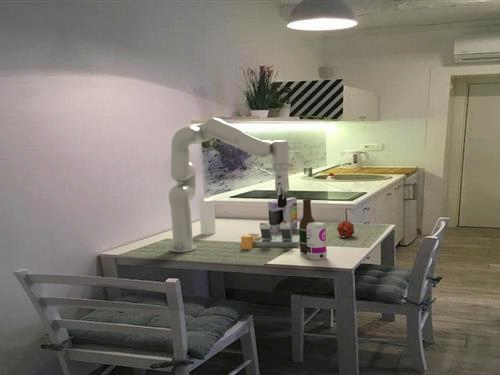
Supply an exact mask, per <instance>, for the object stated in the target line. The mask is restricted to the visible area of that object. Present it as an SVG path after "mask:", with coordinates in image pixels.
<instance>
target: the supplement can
mask: <svg viewBox="0 0 500 375" xmlns="http://www.w3.org/2000/svg"><path fill="white" fill-rule="evenodd" d="M326 227H327V226H326V225H325V223H324V222H321V221H315V222H311V223H308V225H307V227H306V229H307V254H306V256H307V257H308V259H309V260H313V261H321V260H325V259H326V258H327V255H328V254H327V228H326Z"/></svg>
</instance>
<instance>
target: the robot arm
mask: <svg viewBox="0 0 500 375" xmlns="http://www.w3.org/2000/svg"><path fill="white" fill-rule="evenodd" d="M213 139H217V140H219V141H222V142H224V143H226V144H229V145H231V146H232V147H234V148H237V149H239V150H241V151H244V152H246V153H248V154H250V155H252V156H255V157H257V158H260V159H261V158H266V157H272V158H271V159H272V160H271V161H272V171H273V172H274V188H275V193H277V200H278V208H284V207H285V206H287V198H288V197H287V192H288V191H290V180H289V171H290V160H289V159H290V156H289V142H288V141H287V140H285V139H284V140H273V141H271V140H261V139H259V138H257V137H254V136H252V135H250V134H248V133H246V132H245V131H243V129H241V128H240V127H237V126H235V125H232V124H230V123H227V122H226V121H224V120H223V119H221V118H218V117H210V118H208V119H207V120H206V121H204V123H201V124H198V125H195V126H194V125H193V126H191V125H189V126H184V127H182V128H180V129H178V130H177V131H175V133H174V135H172V139H171V146H170V147H171V148H170V149H171V152H170V154H171V157H170V175H171V176H170V177H171V178H172V180H173V181H175V182H176V185H173V187H172V188H171V189H170V190H169V193H168V201H169V202H168V203H169V207H170V217H171V229H172V230H171V232H172V244H173V245H171V247H170V248H169V249H170V252H172V253H173V252H174V253H187V252H191V251H195V250H196V249H197V245H196V244H194V240H193V239H194V238H193V236H194V235H193V225H192V224H193V220H192V219H193V218H192V210H191V204H190V202H191V201H192V200H193V199H194V198H195V195H196V169H195V166H194V164H193V163H192V162H190V149H189V148H190V146H191V145H199V144H201V143H204V142H207V141H210V140H213Z"/></svg>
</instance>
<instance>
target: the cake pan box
mask: <svg viewBox="0 0 500 375" xmlns="http://www.w3.org/2000/svg"><path fill="white" fill-rule="evenodd" d="M297 199H298V198H297V197H287V206H285V207H284V208H278V199H276V200H270V201H268V203H267V206H268V207H267V208H268V223H269V224H270V230H271V234H272V235H276V234H280V233H281V229H280V224H281V223H290V228H291V230H294V229H295V230H296V229H299V226H298V225H299V224H298V200H297Z"/></svg>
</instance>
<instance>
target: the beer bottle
mask: <svg viewBox="0 0 500 375" xmlns="http://www.w3.org/2000/svg"><path fill="white" fill-rule="evenodd" d="M311 200H312V199H311V198H310V199H308V198H305V199H303V200H302V203H303V205H302V206H303V208H302V217H301V219H300V221H299V224H298V225H299V226H298V232H299V234H298V236H299V239H300V245H299V251H300V253H302V254H306V255H307V229H306V227H307V225H308V223H311V222H316V220H315V219H314V217H313V215H312V206H311V202H312V201H311Z"/></svg>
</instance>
